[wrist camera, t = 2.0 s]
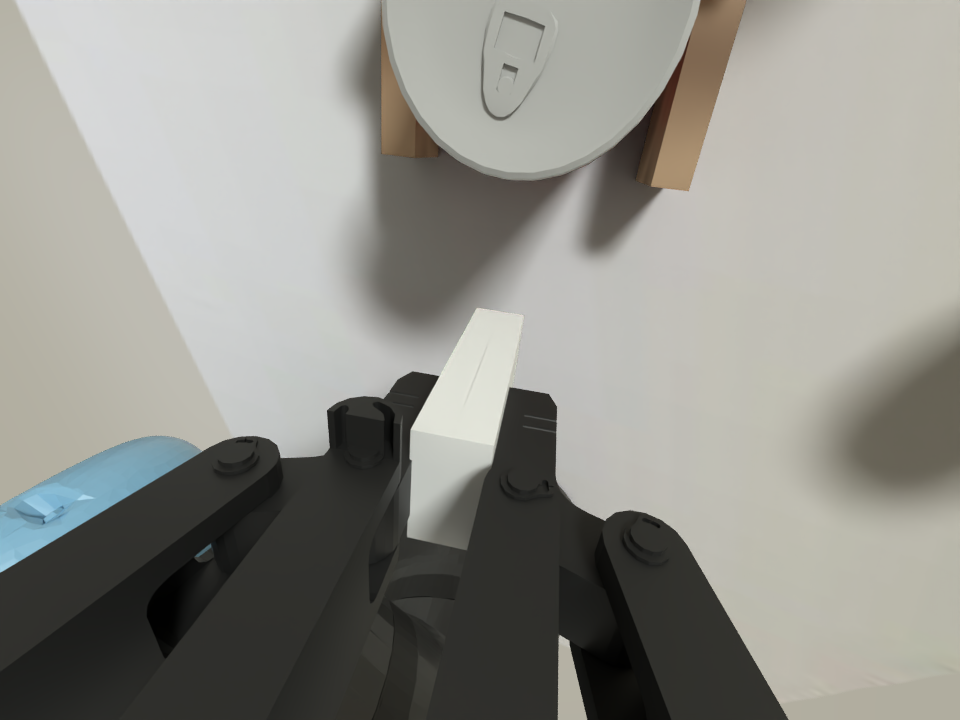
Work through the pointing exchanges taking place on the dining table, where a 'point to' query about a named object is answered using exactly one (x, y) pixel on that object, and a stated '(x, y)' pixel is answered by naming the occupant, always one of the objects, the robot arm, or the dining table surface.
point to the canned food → (533, 75)
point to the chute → (673, 117)
